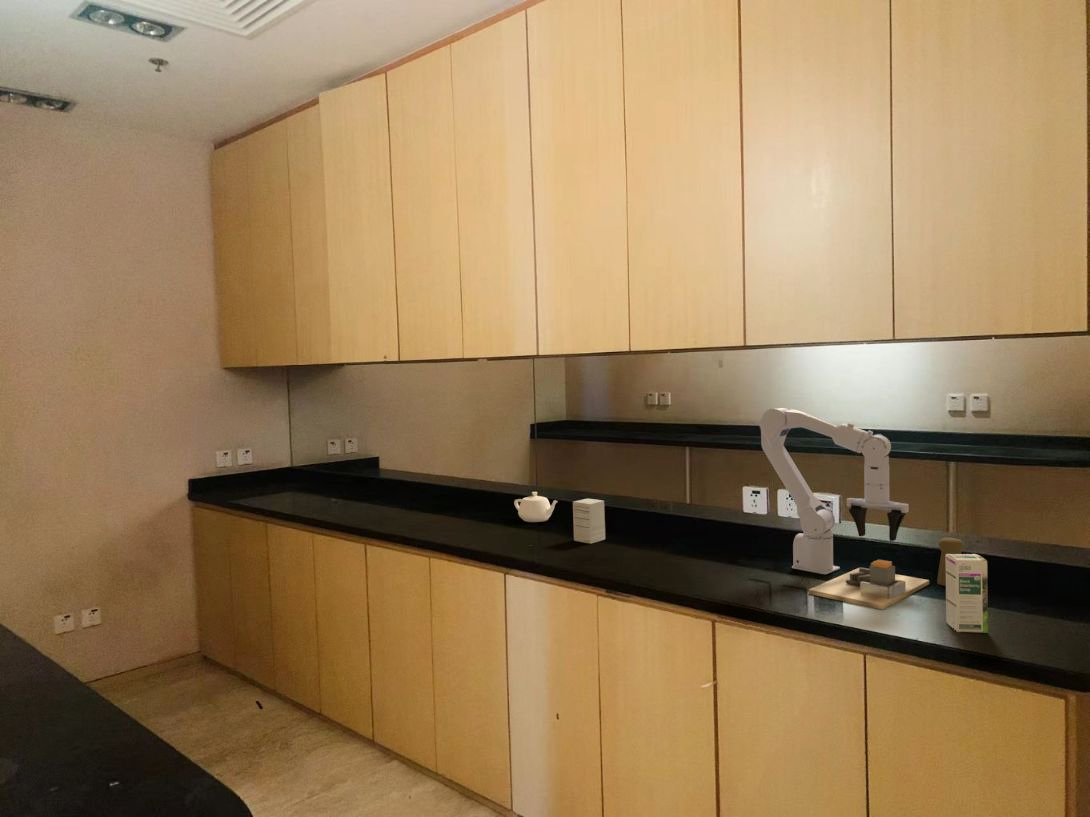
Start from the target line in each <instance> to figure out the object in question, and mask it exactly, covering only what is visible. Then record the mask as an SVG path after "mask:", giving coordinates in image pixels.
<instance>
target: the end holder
mask: <svg viewBox="0 0 1090 817" xmlns="http://www.w3.org/2000/svg"><path fill="white" fill-rule="evenodd" d="M905 592H906V581H901V580H896V579H895V584H893V585H891V586H884V585H879V584H874V583H868V582H863V581H862V582H860V593H863V594H867V595H872V596H877V597H882V598H887V599H893V598H895V597H897V596H899V595H901V594H903V593H905Z"/></svg>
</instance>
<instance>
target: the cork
mask: <svg viewBox="0 0 1090 817" xmlns="http://www.w3.org/2000/svg"><path fill="white" fill-rule="evenodd" d="M938 548H939V550H940V551H941V554H940V558H939V559H940V560H939V567H938V571H937V572H938V574H937V580H936V581H937V582H936V583H937V585H941V586H943V587H946V561H945V555H946V554H962V552H963V550H964V543H963V541H962V540H961V539H959V538H956V537H955V538H954V537H942V538H941V539H940V540H939V542H938Z"/></svg>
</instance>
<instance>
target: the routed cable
mask: <svg viewBox="0 0 1090 817" xmlns="http://www.w3.org/2000/svg"><path fill="white" fill-rule="evenodd" d="M867 582H868V583H870V580H868V581H867ZM846 583H847V584H850V585H855V586H860V582H858V578H856V579H855V581H852V580H846Z"/></svg>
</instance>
